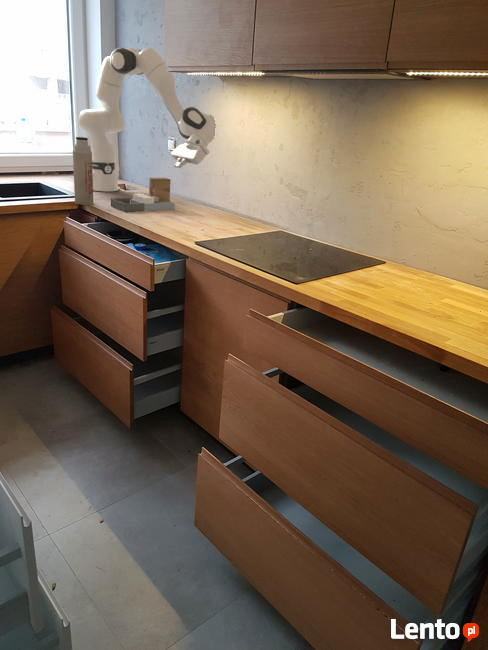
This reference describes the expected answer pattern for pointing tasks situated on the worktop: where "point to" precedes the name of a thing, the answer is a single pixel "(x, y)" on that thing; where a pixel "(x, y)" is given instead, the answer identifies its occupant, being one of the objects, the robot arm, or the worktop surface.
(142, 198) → the tile
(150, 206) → the board
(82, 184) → the thermos bottle
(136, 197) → the tile
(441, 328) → the worktop surface
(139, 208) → the tray
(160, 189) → the brown boxy piece
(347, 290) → the worktop surface
